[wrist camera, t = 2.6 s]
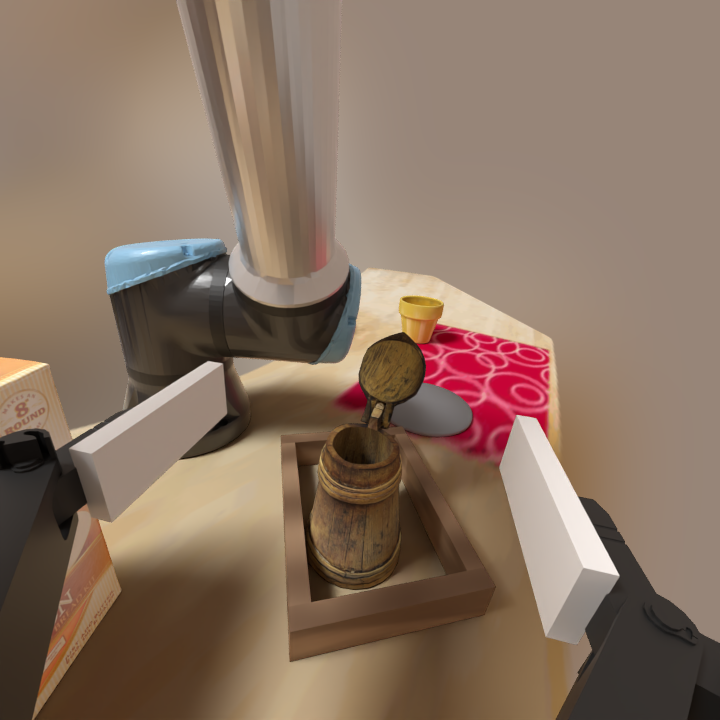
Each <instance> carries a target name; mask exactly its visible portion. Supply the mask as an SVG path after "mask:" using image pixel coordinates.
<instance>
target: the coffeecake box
mask: <svg viewBox="0 0 720 720" xmlns="http://www.w3.org/2000/svg"><path fill="white" fill-rule="evenodd" d="M35 428H38V429H45V430H46V431H48V432H49V433H50V436H51V439H52V442H53V445H54V448H55V450H57V449H59V448H60V447H62V446H64V445H65V444H67V443H69V442H70V441H72V440H73V439H72V436H71V433H70V430H69V427H68V424H67V421H66V418H65V415H64V412H63V409H62V406H61V403H60V400H59V397H58V394H57V390H56V387H55V384H54V381H53V378H52V375H51V372H50V367H49V365H48V364H45V363H40V362H34V361H27V360H19V359H13V358H2V357H0V438H1V437H2V436H5V435H8V434H10V433H13V432H16V431H21V430H25V429H35ZM77 514H78V519H79V521H78V525H77V530H76V534H75V538H74V543H73V547H72V551H71V555H70V560H69V564H68V568H67V573H66V577H65V581H64V585H63V590H62V594H61V598H60V602H59V607H58V611H57V615H56V620H55V624H54V628H53V632H52V637H51V641H50V645H49V650H48V654H47V658H46V662H45V667H44V671H43V675H42V679H41V684H40V688H39V692H38V697H37V701H36V705H35V709H34V714H33V718H32V720H34V718H35V717H36V715H37V714H38V713H39V711H40V710H41V708H42V707H43V705H44V704H45V702H46V701H47V699H48V698H49V696H50V695H51V693H52V692H53V690H54V689H55V688H56V686H57V685H58V683H59V682H60V680H61V679H62V677H63V676H64V674H65V673H66V671H67V670H68V668H69V667H70V665H71V664H72V663H73V661H74V660H75V658H76V657H77V655H78V654H79V652H80V651H81V649H82V648H83V646H84V645H85V643H86V642H87V640H88V639H89V638H90V636H91V635H92V633H93V632H94V630H95V629H96V627H97V626H98V624H99V623H100V621H101V620H102V619H103V617H104V616H105V614H106V613H107V611H108V610H109V608H110V607H111V605H112V604H113V603H114V601H115V600H116V598H117V597H118V595H119V594H120V592H121V588H120V585H119V582H118V579H117V576H116V573H115V569H114V566H113V563H112V560H111V558H110V555H109V551H108V548H107V545H106V542H105V539H104V536H103V533H102V530H101V527H100V524H99V520H98V519H96V518H92V517H91V515H90V512H89V509H88V506H87V504H86V505H84V506H83V507H82V508H81V509H79V510H78V511H77Z"/></svg>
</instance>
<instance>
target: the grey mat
mask: <svg viewBox="0 0 720 720" xmlns="http://www.w3.org/2000/svg"><path fill="white" fill-rule="evenodd" d="M471 421H472V411H471V409H470V407H469V405H468V404H467V403H466V402H465V401H464V400H463V399H462V398H460V397H459V396H458V395H456V394H455V393H453V392H451V391H449V390H447V389H444V388H441V387H439V386H435V385H431V384H427V383H422V385H421V388H420V389H419V391H418V393H417V394H416V396H414V397H413V398H411V399H410V400H408V401H407V402H405V403H402V404H399V405H397V406H395V407H394V410H393V414H392V418H391V421H390V422H391V423H392V424H394V425H395V426H397V427H400V426H402V427H403V428H404V430H406V431H408V432H411V433H415V434H418V435H423V436H430V437H446V436H452V435H456V434H459V433H461V432H463V431H465V430H466V429H467V428H468V427H469V426H470V423H471Z"/></svg>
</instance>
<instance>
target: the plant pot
mask: <svg viewBox="0 0 720 720" xmlns="http://www.w3.org/2000/svg"><path fill="white" fill-rule="evenodd" d="M443 306H444V303H443V302H442V301H440V300H438V299H434V298H430V297H424V296H403V297H401V298H400V303H399V313H400V314H401V321H402V332H405V333H406V334H407V335H408V336H409V337H410V338H411V339H412V340H413V341H414V342H415V343H417V344H424V343H428V342H429V341H430V338H431V336H432V333H433V331H434V328H435V326H436V323H437V321H438V319H440V318H441V316H442V312H443Z"/></svg>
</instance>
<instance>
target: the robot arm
mask: <svg viewBox="0 0 720 720" xmlns="http://www.w3.org/2000/svg"><path fill="white" fill-rule="evenodd" d="M176 2H177V6H178V9H179V13H180V17H181V21H182V25H183V29H184V33H185V36H186V40H187V44H188V48H189V52H190V56H191V60H192V64H193V67H194V71H195V75H196V79H197V83H198V87H199V90H200V94H201V98H202V102H203V106H204V110H205V114H206V117H207V121H208V125H209V129H210V133H211V136H212V140H213V144H214V148H215V152H216V156H217V160H218V163H219V167H220V171H221V175H222V179H223V183H224V187H225V191H226V195H227V198H228V202H229V206H230V210H231V214H232V217H233V222H234V225H235V229H236V233H237V236H238V241H239V243H238V244H237V245H236V246H235V248H234V249H233V251H232V253H231V255H227V254H226V252H227V248H226V247H225V245H224V242H223V241H221V240H219V239H184V240H168V241H157V242H146V243H137V244H130V245H124V246H120V247H116V248H114V249H112V250H111V251H110V252H109V253H108V254H107V256H106V258H105V269H106V278H107V286H108V289H107V294H108V295H110V299H111V303H112V307H113V312H114V316H115V320H116V325H117V329H118V333H119V337H120V342H121V346H122V351H123V355H124V359H125V363H126V368H127V372H128V377H129V381H128V386H127V391H126V396H125V401H124V406H123V411H121V412H118V413H116V414H114V415H113V416H111V417H109V418H108V419H106V420H105V421H104V422H101V423H100V424H98V425H96V426H95V427H94V428H93V429H90V430H88V431H87V432H85V433H83V434H82V435H80V436H78V437H77V438H75V439H73V440H72V441H70V442H69V443H67V444H65V445H64V446H62V447H60V448H59V449H57V450H55V448H54V445H53V442H52V439H51V436H50V433H49V432H48V431H46V430H45V429H38V428H35V429H25V430H21V431H16V432H13V433H10V434H8V435H5V436H2V437H1V438H0V720H32V718H33V714H34V709H35V705H36V701H37V697H38V692H39V688H40V684H41V679H42V675H43V671H44V667H45V662H46V658H47V654H48V650H49V645H50V641H51V637H52V632H53V628H54V624H55V620H56V615H57V611H58V607H59V602H60V598H61V594H62V590H63V585H64V581H65V577H66V573H67V568H68V564H69V560H70V555H71V551H72V547H73V543H74V538H75V534H76V530H77V525H78V521H79V519H78V514H77V511H78V510H79V509H81V508H82V507H83V506H84V505H86V504H87V506H88V509H89V512H90V515H91V517H92V518H96V519H100V520H103V521H107V522H111V523H112V522H113V521H114V520H115V519H116V518H117V517H118V516H119V515H120V514H121V513H123V512H124V511H125V510H126V509H127V508H128V507H129V506H130V505H131V504H132V503H133V502H134V501H135V500H136V499H137V498H138V497H139V496H141V495H142V494H143V493H144V492H145V491H146V490H147V489H148V488H149V487H150V486H151V485H152V484H153V483H154V482H155V481H156V480H157V479H159V478H160V477H161V476H162V475H163V474H164V473H165V472H166V471H167V470H168V469H169V468H170V467H171V466H172V465H173V464H174V463H175V462H177V461H178V460H179V459H180V458H186V457H192V456H196V455H200V454H204V453H207V452H210V451H213V450H215V449H218V448H220V447H222V446H224V445H226V444H228V443H229V442H231V441H232V440H234V439H235V438H237V437H238V436H239V435H240V434H241V433H242V432H243V431H244V430H245V429H246V427H247V426H248V424H249V421H250V417H251V412H250V401H249V397H248V395H247V393H246V390H245V388H244V386H243V384H242V382H241V380H240V378H239V376H238V373H237V371H236V369H235V367H234V364H233V363H234V362H233V357H236V358H250V359H264V360H277V361H289V362H301V363H309V364H312V365H314V364H318V363H338V362H340V361H342V360H343V359H344V358H345V357H346V355H347V353H348V351H349V349H350V346H351V343H352V340H353V336H354V332H355V327H356V319H357V314H358V311H359V304H360V296H361V273H360V270H359V269H358V268H357V267H355V266H352V265H351V264H349V259H348V255H347V253H346V250H345V249H344V247H343V246H342V245H341V243H340V242H339V241H338V240H337V239H335V217H336V184H337V150H338V117H339V114H338V113H339V83H340V49H341V16H342V15H341V14H342V0H176ZM499 468H500V472H501V476H502V479H503V483H504V487H505V490H506V494H507V497H508V501H509V505H510V508H511V512H512V516H513V519H514V523H515V527H516V530H517V534H518V537H519V541H520V545H521V548H522V552H523V556H524V559H525V563H526V567H527V570H528V574H529V578H530V581H531V585H532V588H533V592H534V596H535V599H536V603H537V607H538V610H539V614H540V618H541V621H542V625H543V629H544V632H545V636H546V637H548V638H552V639H555V640H559V641H563V642H567V643H571V644H574V645H577V644H578V643H579V641H580V640H581V638H582V636H583V635H584V633H585V632H586V634H587V637H588V639H589V642H590V645H591V647H592V652H591V653H590V654H589V656H588V657H587V659H586V660H585V662H584V663H583V665H582V667H581V668H580V670H579V671H578V674H579V675H578V677H577V679H576V681H575V683H574V685H573V687H572V689H571V691H570V693H569V695H568V697H567V699H566V701H565V702H564V704H563V706H562V708H561V710H560V712H559V714H558V716H557V718H556V720H720V643H718V642H716V641H714V640H712V639H710V638H708V637H706V636H704V635H702V634H701V633H699V631H698V629H697V628H696V626H695V624H693V622H692V621H691V620H690V619H689V618H688V617H687V616H686V614H685V613H684V612H683V611H682V610H680V609H679V608H678V607H676V606H675V605H674V604H673V603H671V602H670V601H669V600H667V599H665V598H663V597H661V596H660V595H658V594H656V592H655V591H654V589H653V587H652V586H651V584H650V582H649V581H648V579H647V577H646V576H645V574H644V572H643V571H642V569H641V568H640V566H639V564H638V562H637V561H636V559H635V557H634V556H633V554H632V552H631V551H630V549H629V547H628V546H627V545H625V541H624V539H623V537H622V536H621V534H620V533H619V532H617V528H616V526H615V524H614V523H613V521H612V519H611V518H610V516H609V514H608V513H607V512H606V511H605V510H604V509H603V508H602V507H601V506H600V505H599V504H597V502H596V501H594V500H593V499H587V498H583V497H578V496H577V494H576V493H575V491H574V489H573V487H572V485H571V483H570V481H569V479H568V477H567V476H566V474H565V472H564V470H563V468H562V466H561V464H560V462H559V460H558V459H557V457H556V455H555V453H554V451H553V449H552V447H551V445H550V443H549V442H548V440H547V438H546V436H545V434H544V432H543V430H542V428H541V426H540V425H539V423H538V421H537V419H536V418H531V417H526V416H520V415H516V418H515V421H514V424H513V427H512V430H511V433H510V436H509V439H508V442H507V445H506V448H505V452H504V455H503V458H502V461H501V464H500V467H499Z"/></svg>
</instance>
